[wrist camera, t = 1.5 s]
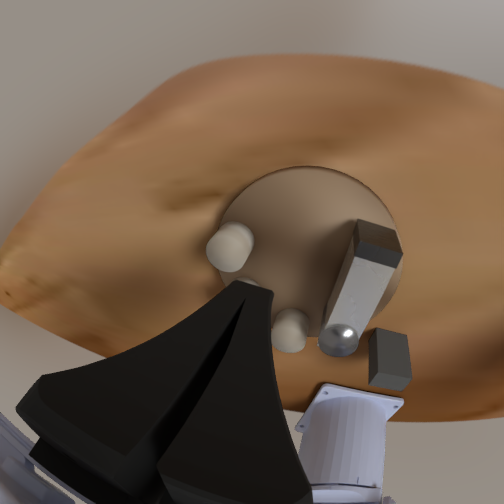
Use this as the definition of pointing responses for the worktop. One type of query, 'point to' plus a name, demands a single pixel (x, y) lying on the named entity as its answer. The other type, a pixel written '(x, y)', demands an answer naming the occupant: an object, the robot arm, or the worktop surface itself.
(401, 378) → the block
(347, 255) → the hinged leg
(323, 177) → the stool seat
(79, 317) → the worktop surface
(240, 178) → the worktop surface
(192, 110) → the worktop surface
